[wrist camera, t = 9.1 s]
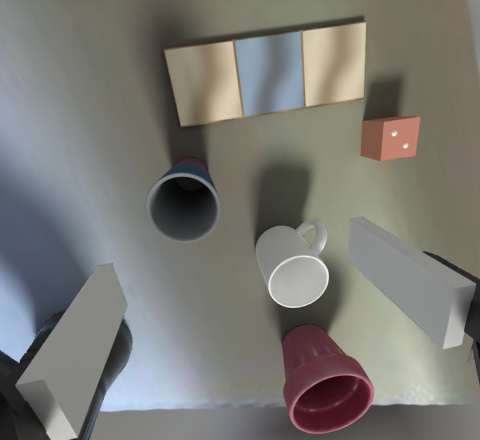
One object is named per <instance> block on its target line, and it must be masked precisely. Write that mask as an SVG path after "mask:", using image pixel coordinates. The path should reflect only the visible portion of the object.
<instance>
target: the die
mask: <svg viewBox="0 0 480 440" xmlns="http://www.w3.org/2000/svg"><path fill="white" fill-rule="evenodd" d="M419 124H420V117H402V116H394V117H387V118H380V119H373V120H366V121H362V140H361V156H363V157H367V158H371V159H375V160H379V161H384V160H390V159H397V158H403V157H410V156H415V154H416V146H417V139H418V131H419Z"/></svg>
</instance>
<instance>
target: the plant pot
mask: <svg viewBox="0 0 480 440" xmlns="http://www.w3.org/2000/svg"><path fill="white" fill-rule="evenodd" d="M282 347H283V357H284V367H285V377H286V382H285V385H284V390H283V394H284V399H285V403H286V406H287V409H288V412H289V415H290V419H291V421H292V423H293V424H294V425H295V426H296V427H297V428H298V429H300V430H302V431H305V432H308V433H327V432H332V431H335V430H339V429H341V428H344V427H346V426H348V425H350V424H351V423H353V422H354V421H356V420H357V419H359V418H360V417H361V416H362V415H363V414H364V413H365V412H366V411H367V410H368V408H369V407H370V405H371V403H372V401H373V397H374V389H373V385H372V383H371V381H370V380H369V378H368V376H367V375H366V373H365V371H364V370H363V368H362V367H361V365H360V364H359V363H358V362H357V361H356V360H355V359H354V358H352V357H350V356H347V355H346V354H345V353H344V352H343V351H342V350H341V348H340V347H339V346H338V345H337V344H336V343H335V342H334V341H333V340H332V339H331V338H330V337H329V336H328V335H327V334H326V333H325V332H324V330H323V329H321V328H320V327H318V326H315V325H302V326H299V327H296V328H294V329H293V330H291V331H290V332H289V333H288V334H287V335H286V336H285V338H284V340H283V344H282Z"/></svg>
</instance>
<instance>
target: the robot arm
mask: <svg viewBox="0 0 480 440" xmlns="http://www.w3.org/2000/svg"><path fill="white" fill-rule="evenodd" d="M348 261H349V262H350V263H351V264H352V265H353V266H355V267H356V268H357V269H358V270H359V271H360V272H361V273H362V274H363V275H364V276H365V277H366V278H367V279H368V280H369V281H371V282H372V283H373V284H374V285H375V286H376V287H377V288H378V289H379V290H380V291H381V292H382V293H383V294H384V295H385V296H386V297H388V298H389V299H390V300H391V301H392V302H393V303H394V304H395V305H396V306H397V307H398V308H399V309H400V310H401V311H402V312H404V313H405V314H406V315H407V316H408V317H409V318H410V319H411V320H412V321H413V322H414V323H415V324H416V325H417V326H418V327H420V328H421V329H422V330H423V331H424V332H425V333H426V334H427V335H428V336H429V337H430V338H431V339H432V340H433V341H434V342H436V343H437V344H438V345H439V346H440V347H441V348H442V349H446V348H450V347H454V346H458V345H461V344H462V340H463V336H464V332H465V333H467V334H468V335H469V336H470V337H472V338H473V339H474V340H473V344H472V348H471V351H470V355H469V359H468V363H472V361H473V359H475V364H476V369H477V374H478V379H479V384H480V279H478V278H477V277H475V276H473V275H471V274H469V273H468V272H466V271H464V270H462V269H461V268H458V267H457V266H455V265H454V264H452V263H449V262H448V261H447V260H445V259H443V258H441V257H440V256H437V255H434V254H431V253H429V252H426V251H423V252H421V251H420V250H418V249H416V248H415V247H413V246H411V245H410V244H408V243H406V242H405V241H403V240H401V239H399V238H398V237H396V236H394V235H393V234H391V233H389V232H388V231H386V230H384V229H383V228H381V227H379V226H377V225H376V224H374V223H372V222H371V221H369V220H367V219H366V218H364V217H357V218H351V219H350V220H349V256H348ZM126 308H127V302H126V299H125V296H124V294H123V291H122V288H121V285H120V283H119V280H118V277H117V274H116V272H115V269H114V266H113V263H109V264H103V265H98V266H97V267H96V268H95V270H94V271H93V272H92V274H91V275H90V277H89V278H88V280H87V281H86V283H85V284H84V286H83V287H82V289H81V290H80V291H79V293H78V294H77V296H76V297H75V299H74V300H73V302H72V303H71V305H70V306H69V307H68V309H67V310H66V311H63V312H61V313H58V314H56V315H55V316H53V317H52V318H50V319H49V320H48V321H47V322H46V323H45V324H44V325H43V327H42V328H41V329H40V331H39V332H38V333H37V335H36V337H35V339H34V341H33V343H32V345H31V346H30V347H29V349H28V350H27V353H25V354H24V355H23V357H22V358H21V360H20V363H18V362H17V361H15V360H14V359H12V358H11V357H9V356H8V355H6V354H5V353H4V352H2V351H1V350H0V440H90V437H91V434H92V431H93V428H94V425H95V422H96V419H97V417H98V414H99V411H100V408H101V405H102V402H103V400H104V397H105V394H106V392H107V390H108V389H109V387H110V386H111V385H112V383H113V382H114V380H115V379H116V377H117V376H118V374H119V373H120V372H121V371H122V370H123V369H124V367H125V366H126V364H127V362H128V359H129V356H130V353H131V350H132V337H131V334H130V332H129V330H128V329H127V327H126V326H125V325H124V324H123V323H122V322H121V321H122V319H123V316H124V313H125V311H126Z"/></svg>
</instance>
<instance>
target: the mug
mask: <svg viewBox="0 0 480 440" xmlns="http://www.w3.org/2000/svg"><path fill="white" fill-rule="evenodd" d="M313 227H314V228H315V229H316V231H317V234H316V238H315V241H314V242H313V244H312V245H311V246H310V245H309V244H308V243H307V242H306V240H305V239H304V238H303V235H304V234H305V233H306V232H307V231H308V230H309V229H310V228H313ZM326 239H327V230H326V227H325V225H324V224H323V222H322V221H320V220H318V219H309V220H307V221H305V222H303V223H302V224H301V225H300V226H299V227H298V228H297V229H296V230H295V229H293V228H291V227H288V226H276V227H272V228H270V229H268V230H267V231H265V232H264V233H263V234H262V235H261V236H260V238H259V239H258V241H257V244H256V257H257V260H258V263H259V266H260V269H261V271H262V274H263V277H264V279H265V282H266V285H267V287H268V290H269V293H270V295H271V297H272V298H273V299H274V300H275V301H276V302H277V303H278V304H280V305H282V306H285V307H290V308H297V307H302V306H306V305H308V304H310V303H312V302H314V301H315V300H317V299H318V298H319V297H320V296H321V295H322V294H323V292H324V291H325V289H326V287H327V285H328V281H329V273H328V269H327V267H326V265H325V264H324V262H323V261H322V260H321V259H320V258H319V254H320V253H321V251H322V250H323V248H324V246H325V243H326Z"/></svg>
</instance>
